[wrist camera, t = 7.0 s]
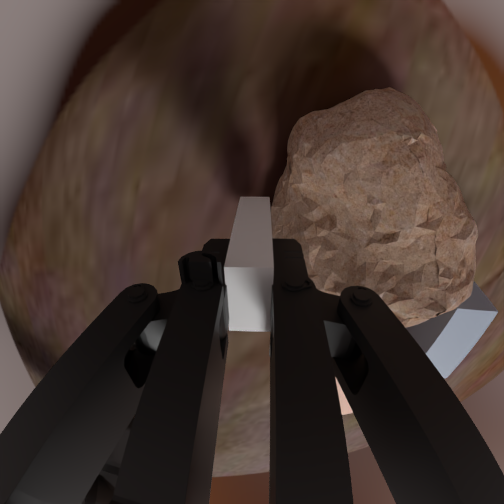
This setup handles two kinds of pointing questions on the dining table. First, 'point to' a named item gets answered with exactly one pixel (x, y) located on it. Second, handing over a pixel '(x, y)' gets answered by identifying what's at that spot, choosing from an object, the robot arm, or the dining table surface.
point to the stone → (377, 206)
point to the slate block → (454, 331)
